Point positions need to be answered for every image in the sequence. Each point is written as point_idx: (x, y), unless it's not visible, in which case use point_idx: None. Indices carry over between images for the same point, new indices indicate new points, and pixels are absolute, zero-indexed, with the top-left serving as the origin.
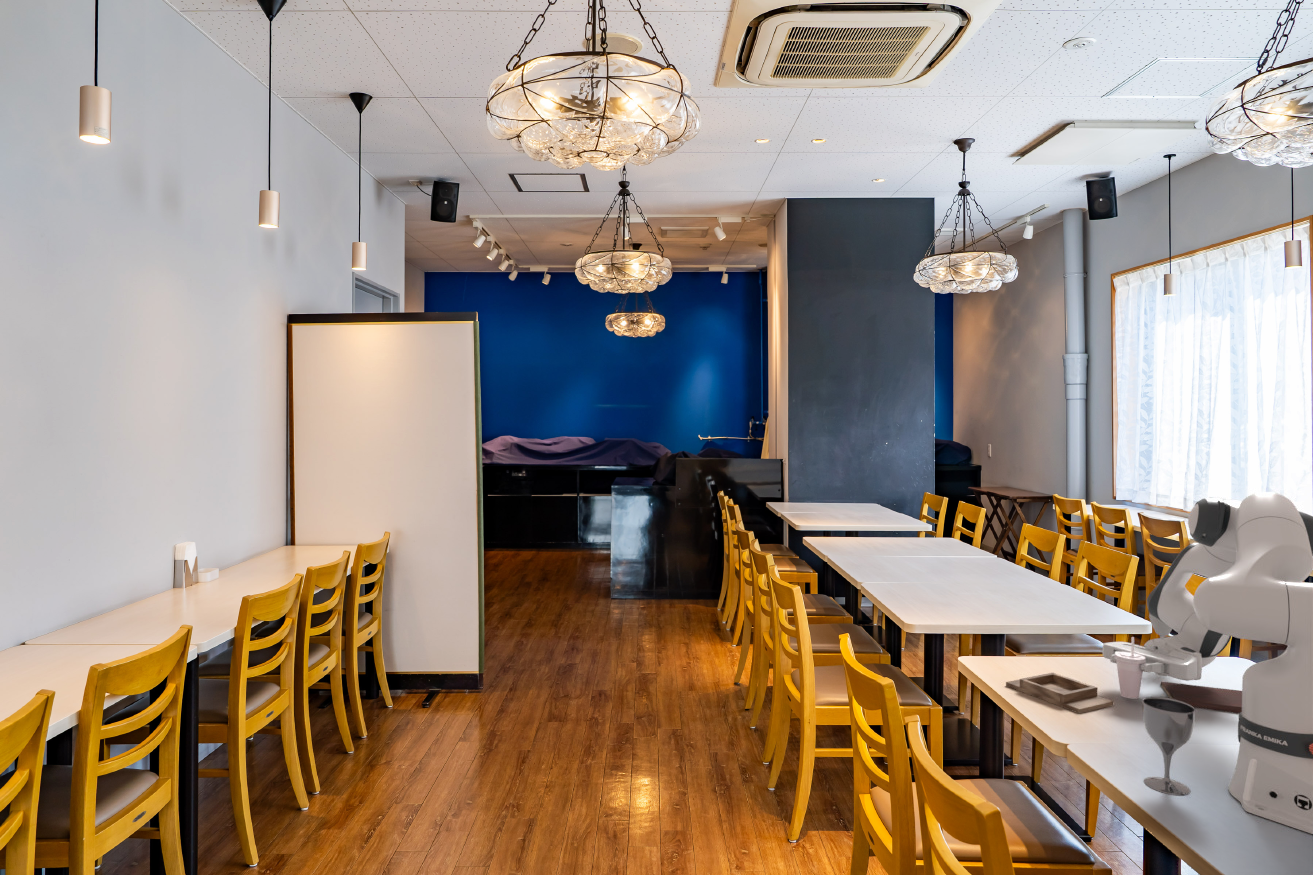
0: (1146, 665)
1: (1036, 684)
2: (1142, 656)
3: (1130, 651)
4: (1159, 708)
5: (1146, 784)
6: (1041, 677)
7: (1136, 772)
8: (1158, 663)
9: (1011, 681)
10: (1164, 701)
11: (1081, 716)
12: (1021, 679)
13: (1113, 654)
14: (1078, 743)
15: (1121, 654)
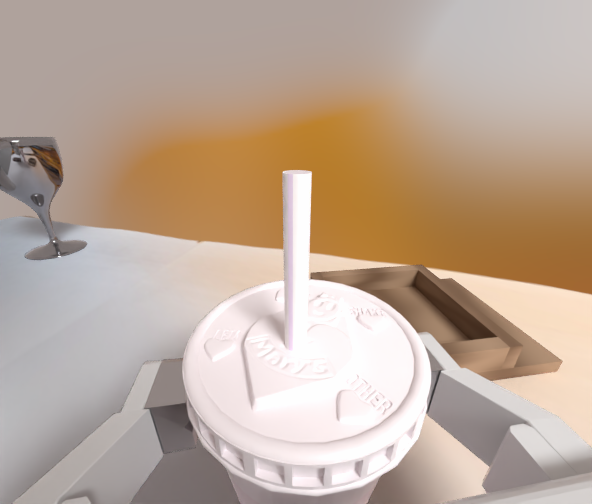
0: (152, 362)
1: (383, 269)
2: (245, 423)
3: (503, 500)
4: (34, 157)
5: (82, 240)
6: (453, 302)
7: (99, 247)
8: (43, 499)
9: (459, 286)
10: (20, 145)
11: None
12: (418, 265)
13: (443, 350)
14: (190, 248)
15: (329, 296)
